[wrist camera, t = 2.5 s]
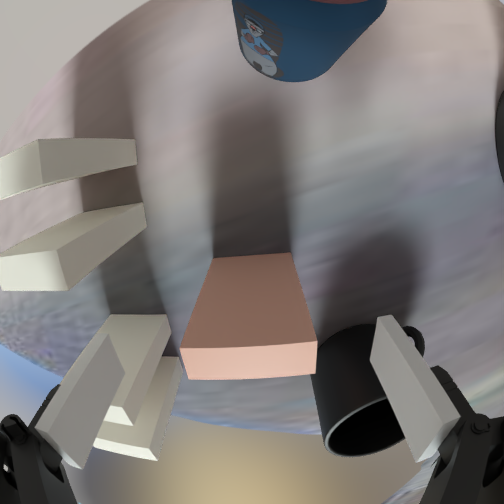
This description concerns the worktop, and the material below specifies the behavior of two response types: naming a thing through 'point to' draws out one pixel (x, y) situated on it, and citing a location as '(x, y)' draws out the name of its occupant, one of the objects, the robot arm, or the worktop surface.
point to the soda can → (300, 33)
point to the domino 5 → (250, 322)
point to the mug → (355, 394)
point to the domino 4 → (146, 416)
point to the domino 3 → (134, 359)
